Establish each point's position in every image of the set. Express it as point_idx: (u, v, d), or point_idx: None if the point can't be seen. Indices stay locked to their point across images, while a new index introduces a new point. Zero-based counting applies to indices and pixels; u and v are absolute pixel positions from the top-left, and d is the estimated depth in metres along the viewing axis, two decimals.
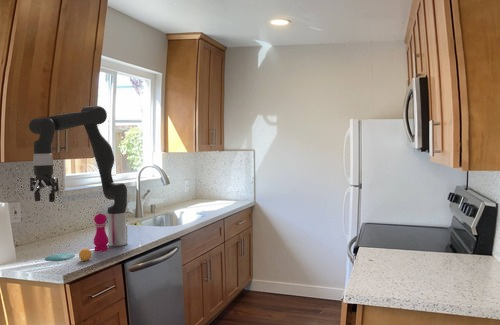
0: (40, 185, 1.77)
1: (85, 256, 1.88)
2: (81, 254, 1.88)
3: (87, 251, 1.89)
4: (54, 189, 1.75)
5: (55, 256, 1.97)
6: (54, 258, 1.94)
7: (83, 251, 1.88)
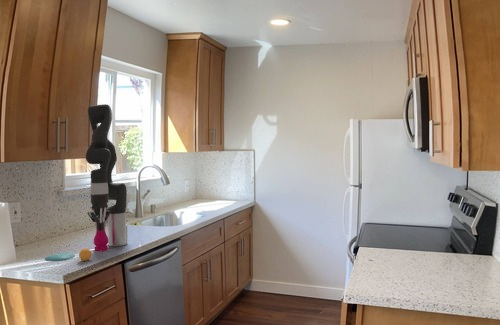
0: (102, 211, 1.85)
1: (85, 256, 1.88)
2: (81, 254, 1.88)
3: (87, 251, 1.89)
4: None
5: (55, 256, 1.97)
6: (54, 258, 1.94)
7: (83, 251, 1.88)
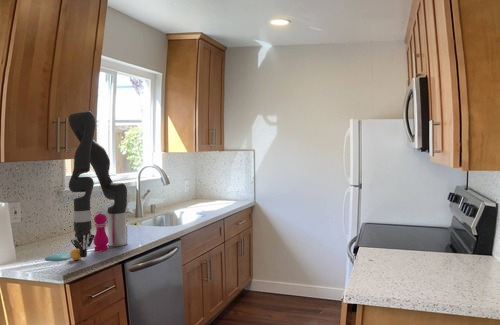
0: (85, 238, 1.90)
1: (73, 251, 1.89)
2: (71, 255, 1.89)
3: None
4: None
5: (55, 256, 1.97)
6: (54, 258, 1.94)
7: (70, 253, 1.90)
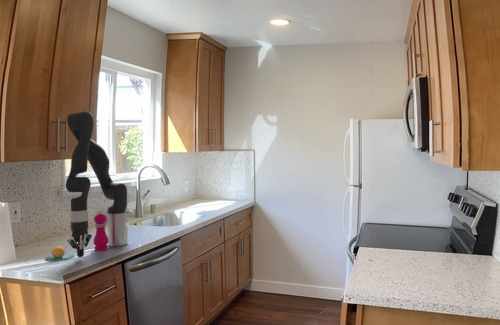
0: (82, 237, 1.91)
1: (56, 256, 1.93)
2: (54, 252, 1.93)
3: (60, 254, 1.94)
4: None
5: None
6: (54, 258, 1.94)
7: (58, 252, 1.93)
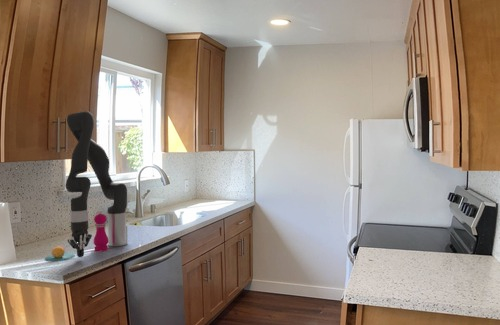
0: (82, 237, 1.91)
1: (56, 256, 1.93)
2: (54, 252, 1.93)
3: (60, 254, 1.94)
4: None
5: None
6: (54, 258, 1.94)
7: (58, 252, 1.93)
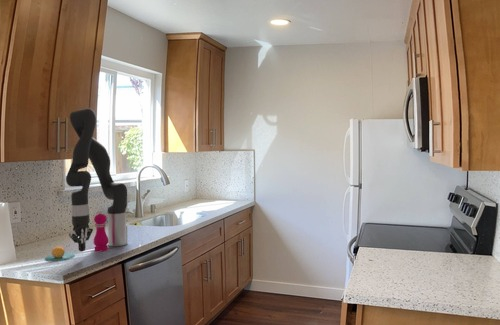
0: (83, 231, 1.91)
1: (56, 256, 1.93)
2: (54, 252, 1.93)
3: (60, 254, 1.94)
4: None
5: None
6: (54, 258, 1.94)
7: (58, 252, 1.93)
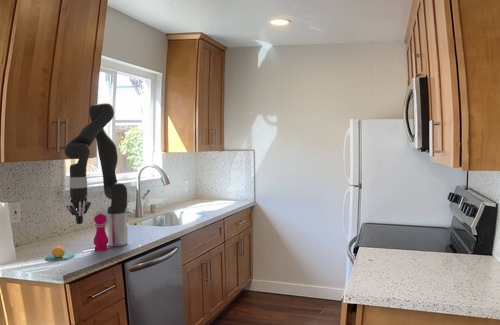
0: (81, 204, 1.90)
1: (56, 256, 1.93)
2: (54, 252, 1.93)
3: (60, 254, 1.94)
4: None
5: None
6: (54, 258, 1.94)
7: (58, 252, 1.93)
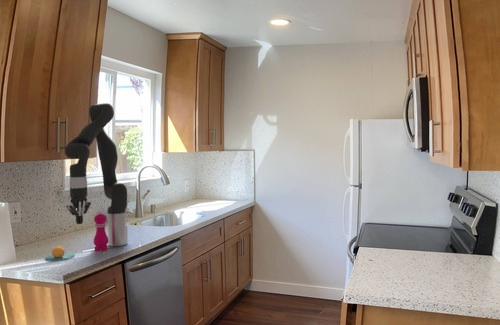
0: (81, 204, 1.90)
1: (56, 256, 1.93)
2: (54, 252, 1.93)
3: (60, 254, 1.94)
4: None
5: None
6: (54, 258, 1.94)
7: (58, 252, 1.93)
